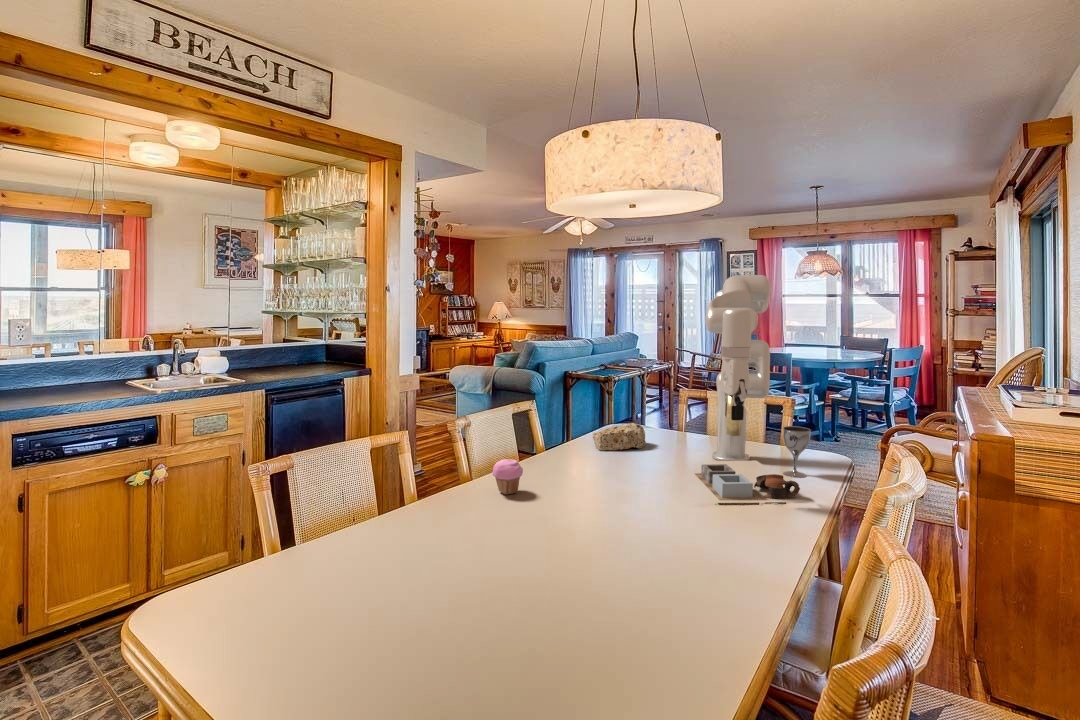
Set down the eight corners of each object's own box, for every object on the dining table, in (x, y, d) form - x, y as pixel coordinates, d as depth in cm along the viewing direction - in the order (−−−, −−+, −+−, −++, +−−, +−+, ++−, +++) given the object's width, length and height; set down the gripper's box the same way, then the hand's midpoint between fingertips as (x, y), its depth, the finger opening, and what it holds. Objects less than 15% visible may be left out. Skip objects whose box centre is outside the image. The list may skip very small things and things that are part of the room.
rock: (600, 455, 207) (596, 428, 208) (591, 454, 221) (587, 429, 222) (652, 447, 210) (648, 420, 211) (640, 446, 224) (636, 421, 225)
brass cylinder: (724, 432, 159) (725, 391, 157) (737, 432, 159) (739, 391, 158) (728, 436, 155) (730, 393, 154) (743, 435, 155) (744, 393, 154)
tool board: (694, 478, 176) (694, 462, 176) (728, 477, 176) (729, 462, 176) (719, 505, 152) (720, 487, 152) (759, 505, 153) (760, 487, 152)
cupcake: (527, 494, 162) (527, 460, 161) (500, 499, 158) (500, 465, 157) (514, 485, 170) (513, 453, 169) (487, 490, 165) (487, 457, 164)
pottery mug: (753, 504, 155) (749, 475, 158) (761, 509, 162) (757, 481, 165) (800, 500, 149) (794, 470, 152) (806, 506, 156) (801, 477, 159)
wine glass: (793, 479, 175) (795, 432, 173) (776, 471, 183) (777, 426, 181) (814, 476, 177) (816, 430, 176) (796, 469, 185) (798, 425, 183)
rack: (712, 487, 162) (712, 474, 162) (741, 487, 163) (741, 474, 162) (722, 497, 154) (722, 483, 154) (752, 497, 154) (752, 483, 154)
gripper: (712, 350, 163) (711, 412, 165) (733, 356, 146) (731, 424, 148) (738, 350, 163) (736, 412, 165) (761, 356, 146) (759, 424, 148)
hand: (734, 417), depth 156 cm, fingers closed on brass cylinder, 4 cm apart
